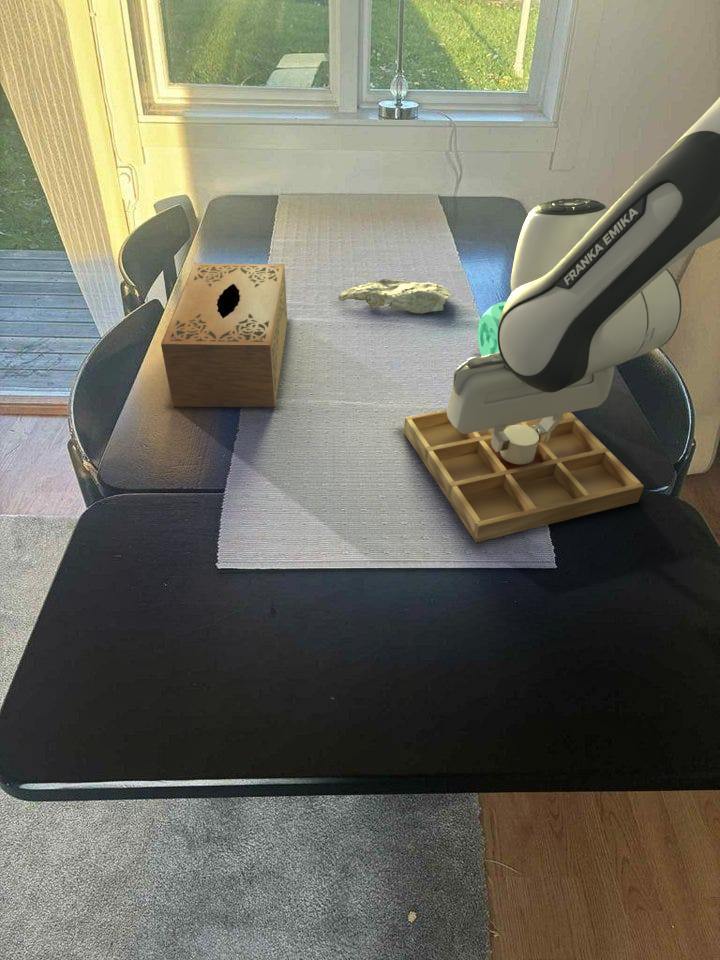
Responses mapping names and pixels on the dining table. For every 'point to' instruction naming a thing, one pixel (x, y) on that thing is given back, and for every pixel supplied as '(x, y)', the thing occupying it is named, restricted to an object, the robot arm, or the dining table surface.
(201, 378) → the tissue box cover
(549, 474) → the board
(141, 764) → the dining table surface
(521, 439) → the white cylinder
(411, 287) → the rock
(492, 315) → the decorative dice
